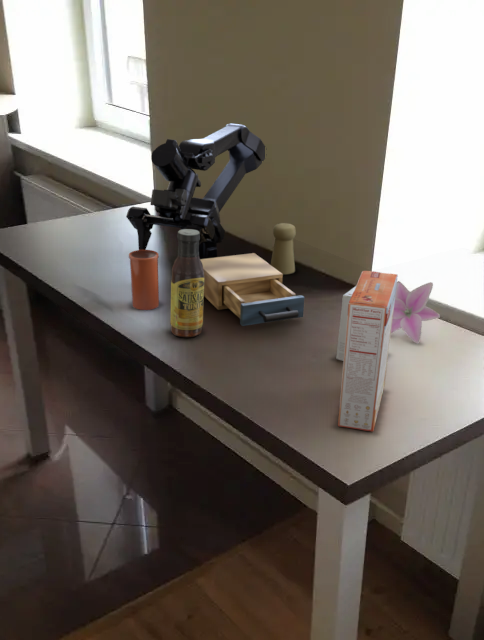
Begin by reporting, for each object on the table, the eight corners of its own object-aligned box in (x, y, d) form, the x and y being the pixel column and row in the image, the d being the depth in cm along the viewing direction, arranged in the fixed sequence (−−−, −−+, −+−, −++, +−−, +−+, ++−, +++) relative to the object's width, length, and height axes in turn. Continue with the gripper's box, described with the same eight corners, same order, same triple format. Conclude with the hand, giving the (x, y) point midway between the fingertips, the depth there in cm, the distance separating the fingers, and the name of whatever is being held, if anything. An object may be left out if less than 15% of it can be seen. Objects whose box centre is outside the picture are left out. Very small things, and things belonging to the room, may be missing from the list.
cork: (265, 271, 175) (267, 225, 169) (276, 264, 179) (278, 219, 174) (288, 276, 172) (291, 229, 167) (299, 268, 177) (302, 223, 172)
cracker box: (348, 386, 126) (361, 268, 116) (384, 391, 124) (400, 273, 114) (334, 427, 114) (347, 300, 104) (373, 433, 113) (390, 305, 102)
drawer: (312, 324, 146) (313, 304, 144) (250, 334, 141) (251, 313, 139) (274, 293, 160) (275, 274, 158) (216, 301, 155) (216, 282, 153)
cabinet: (281, 301, 159) (282, 273, 156) (218, 310, 154) (218, 282, 151) (253, 278, 170) (254, 252, 167) (193, 286, 165) (193, 260, 162)
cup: (134, 298, 158) (132, 248, 153) (162, 300, 158) (161, 250, 152) (128, 309, 153) (125, 258, 147) (157, 311, 152) (155, 259, 147)
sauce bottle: (178, 341, 140) (176, 238, 130) (165, 329, 145) (162, 229, 135) (209, 335, 143) (210, 234, 133) (196, 323, 147) (195, 225, 138)
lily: (363, 327, 150) (365, 297, 142) (405, 296, 153) (409, 265, 145) (405, 363, 144) (410, 334, 136) (448, 330, 147) (455, 300, 139)
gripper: (127, 168, 156) (106, 234, 153) (210, 177, 151) (189, 245, 147) (145, 196, 166) (125, 259, 163) (223, 206, 161) (204, 270, 158)
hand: (159, 258), depth 157 cm, fingers open, 9 cm apart
